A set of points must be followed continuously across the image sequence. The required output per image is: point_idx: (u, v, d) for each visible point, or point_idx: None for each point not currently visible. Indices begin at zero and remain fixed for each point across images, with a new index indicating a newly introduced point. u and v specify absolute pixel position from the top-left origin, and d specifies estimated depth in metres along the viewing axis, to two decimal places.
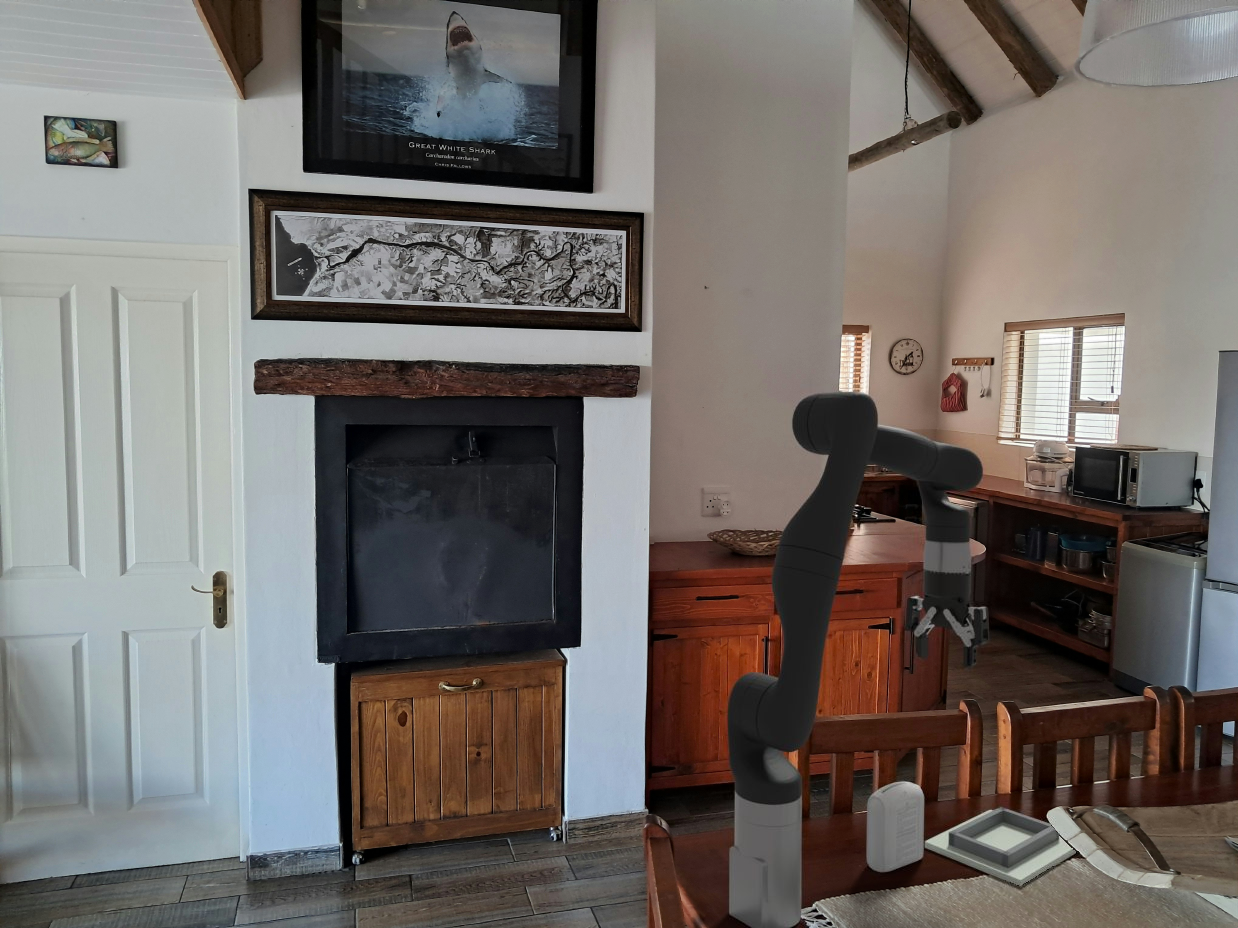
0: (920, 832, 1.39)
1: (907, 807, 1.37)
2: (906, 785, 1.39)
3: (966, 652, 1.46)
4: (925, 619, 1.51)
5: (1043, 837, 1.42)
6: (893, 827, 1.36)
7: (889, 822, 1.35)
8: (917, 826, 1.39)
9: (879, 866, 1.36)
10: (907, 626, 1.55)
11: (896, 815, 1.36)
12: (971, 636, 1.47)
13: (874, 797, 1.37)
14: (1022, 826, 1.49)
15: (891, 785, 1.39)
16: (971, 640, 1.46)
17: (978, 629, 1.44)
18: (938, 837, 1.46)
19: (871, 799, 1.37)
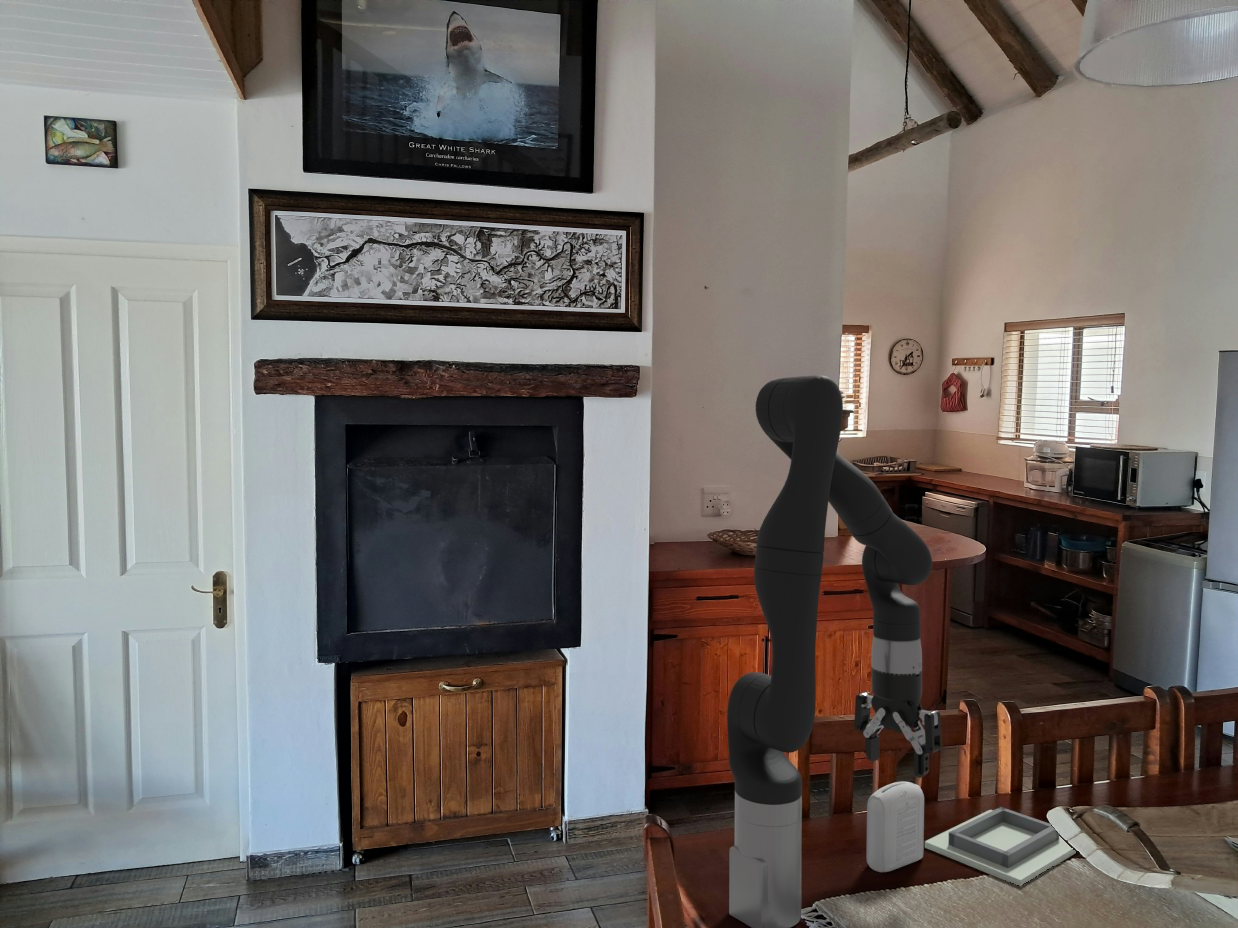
0: (920, 832, 1.39)
1: (907, 807, 1.37)
2: (906, 785, 1.39)
3: (917, 760, 1.35)
4: (874, 720, 1.40)
5: (1043, 837, 1.42)
6: (893, 827, 1.36)
7: (889, 822, 1.35)
8: (917, 826, 1.39)
9: (879, 866, 1.36)
10: (856, 725, 1.43)
11: (896, 815, 1.36)
12: (923, 741, 1.36)
13: (874, 797, 1.37)
14: (1022, 826, 1.49)
15: (891, 785, 1.39)
16: (922, 747, 1.34)
17: (929, 736, 1.33)
18: (938, 837, 1.46)
19: (871, 799, 1.37)
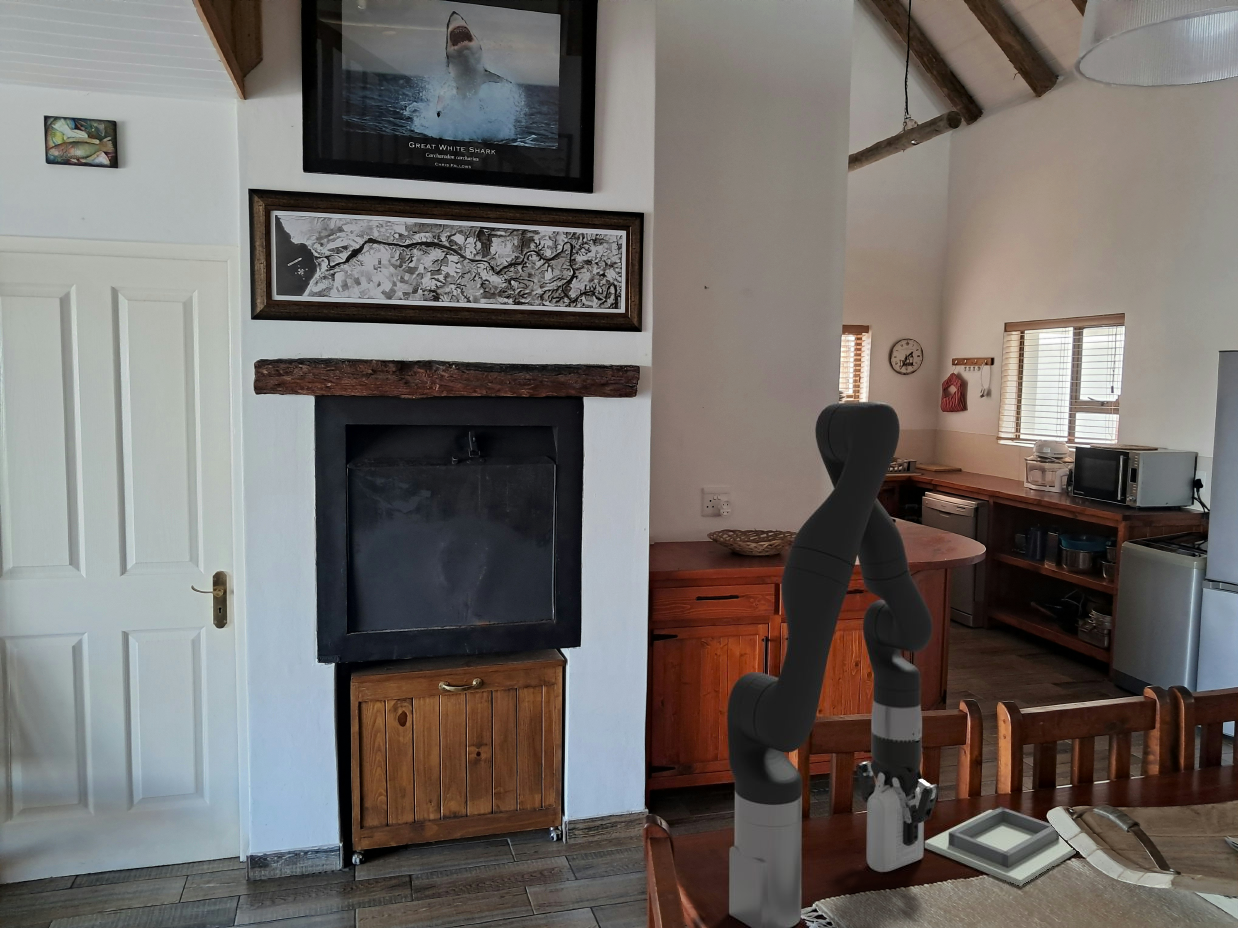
0: (920, 832, 1.39)
1: None
2: None
3: (906, 828, 1.36)
4: (877, 788, 1.39)
5: (1043, 837, 1.42)
6: (893, 827, 1.36)
7: (889, 822, 1.35)
8: None
9: (879, 865, 1.36)
10: (864, 797, 1.42)
11: (896, 815, 1.36)
12: (912, 809, 1.37)
13: (874, 797, 1.37)
14: (1022, 826, 1.49)
15: None
16: (911, 816, 1.36)
17: (921, 808, 1.34)
18: (938, 837, 1.46)
19: (871, 799, 1.37)
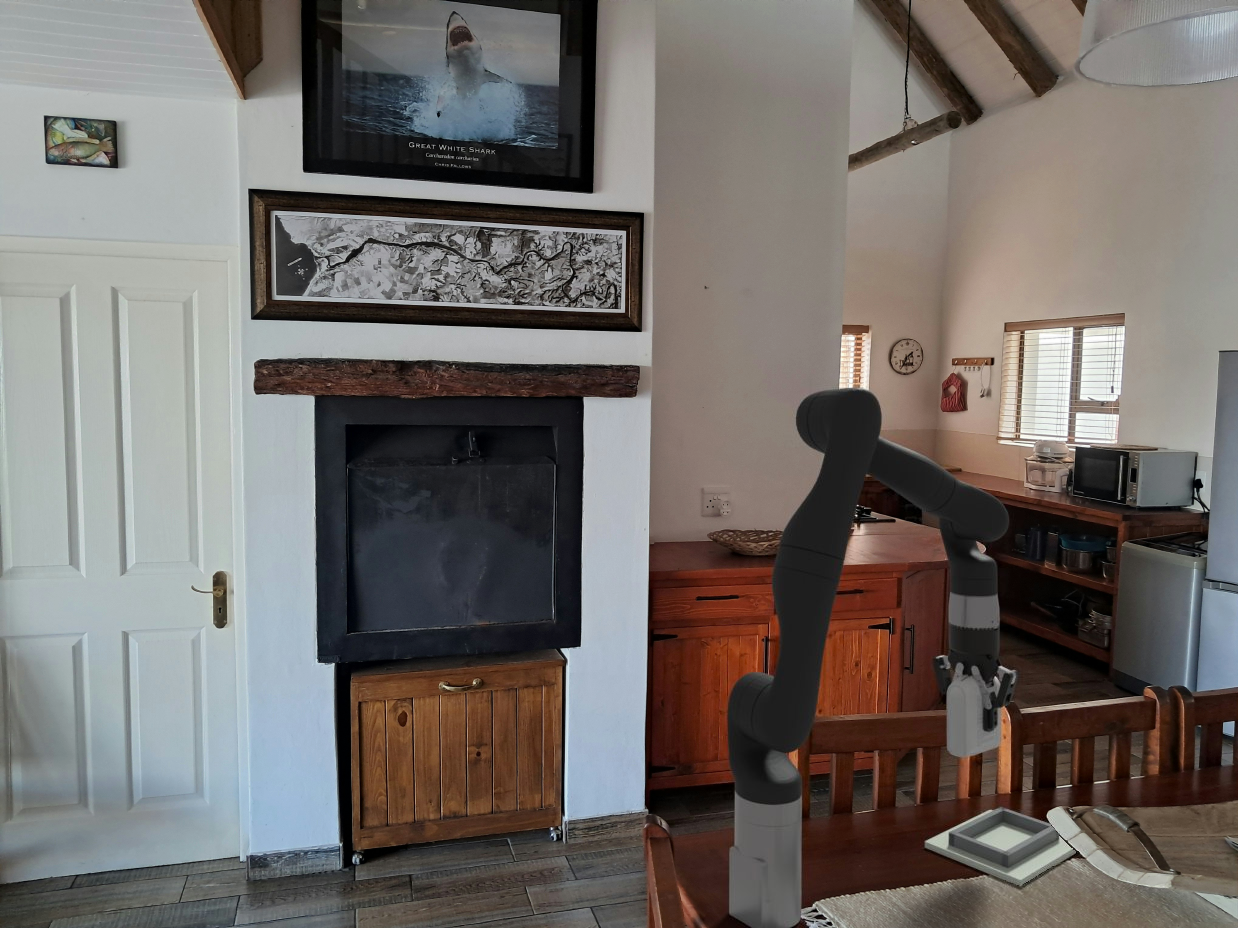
0: (998, 720, 1.43)
1: None
2: None
3: (986, 714, 1.39)
4: (956, 678, 1.43)
5: (1043, 837, 1.42)
6: (974, 713, 1.39)
7: (970, 708, 1.38)
8: None
9: (961, 751, 1.39)
10: (941, 689, 1.45)
11: (976, 701, 1.39)
12: (991, 697, 1.41)
13: (954, 685, 1.40)
14: (1022, 826, 1.49)
15: None
16: (991, 702, 1.39)
17: (1002, 693, 1.37)
18: (938, 837, 1.46)
19: (951, 687, 1.40)
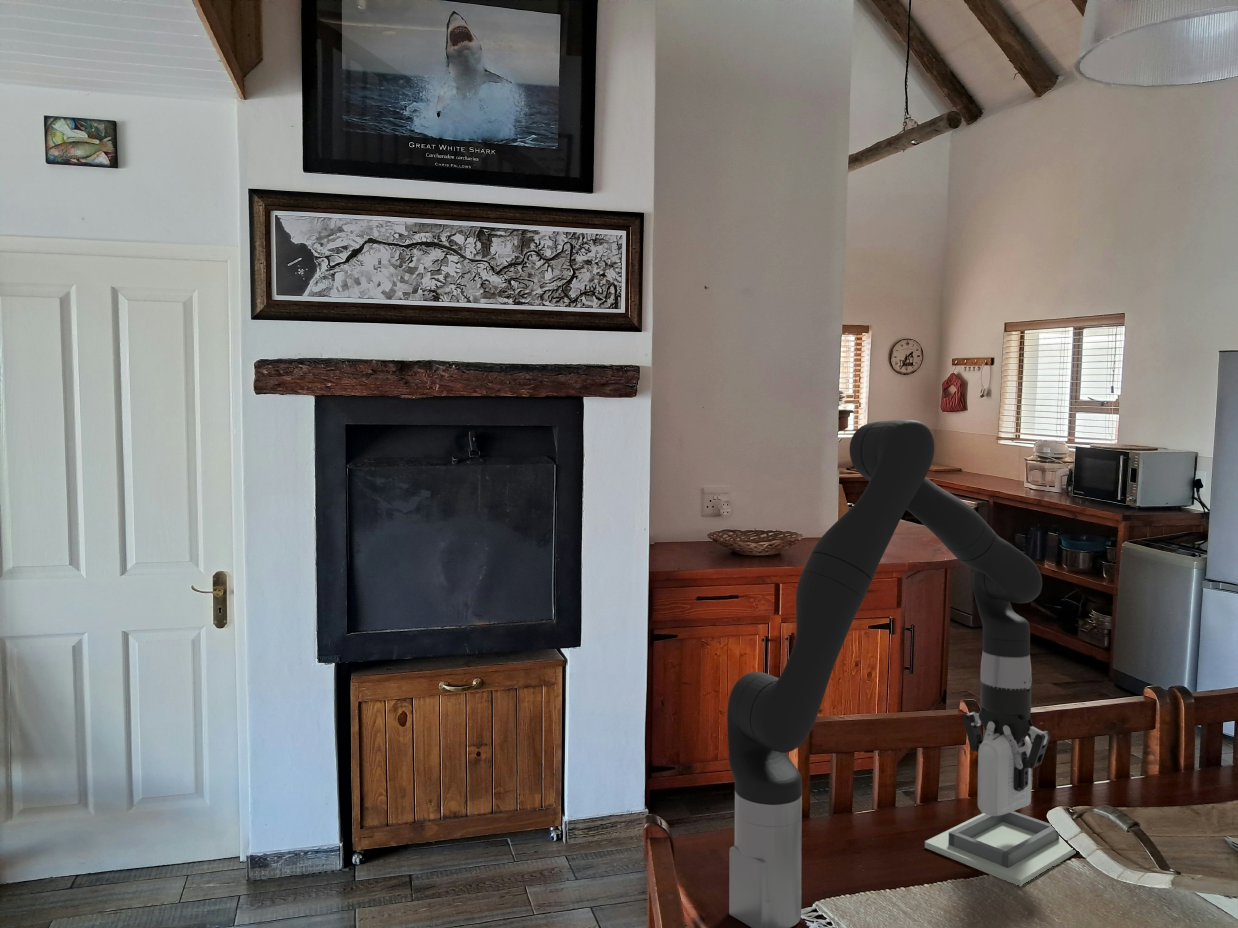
0: (1028, 778, 1.44)
1: None
2: None
3: (1017, 774, 1.41)
4: (987, 737, 1.44)
5: (1043, 837, 1.42)
6: (1005, 772, 1.40)
7: (1001, 767, 1.40)
8: None
9: (992, 810, 1.40)
10: (972, 746, 1.47)
11: (1008, 761, 1.41)
12: (1022, 756, 1.42)
13: (985, 744, 1.41)
14: (1022, 826, 1.49)
15: None
16: (1022, 762, 1.40)
17: (1034, 753, 1.38)
18: (938, 837, 1.46)
19: (982, 746, 1.42)
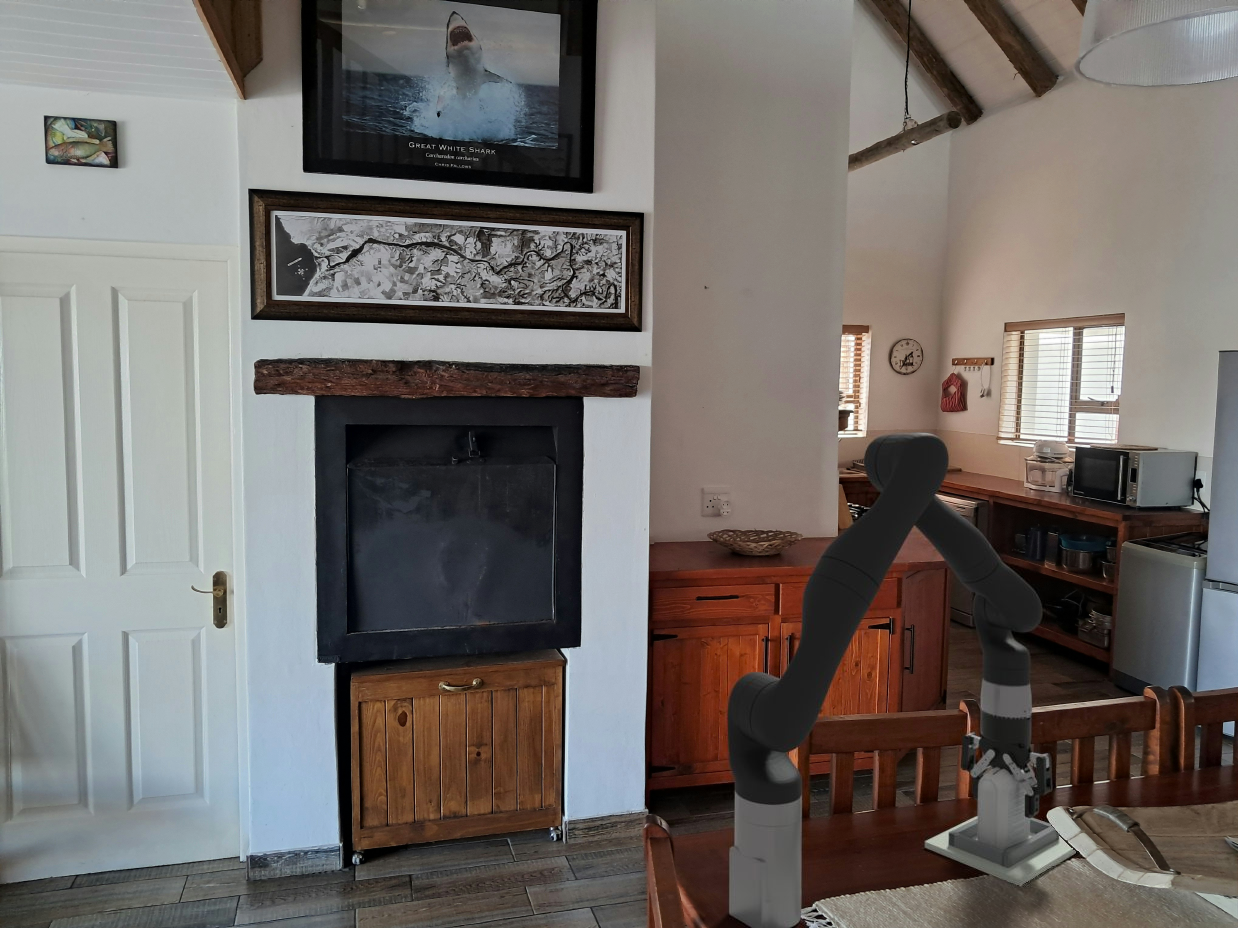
0: None
1: (1017, 788, 1.42)
2: None
3: (1027, 801, 1.40)
4: (983, 761, 1.45)
5: (1043, 837, 1.42)
6: (1005, 808, 1.40)
7: (1001, 803, 1.40)
8: None
9: (992, 845, 1.40)
10: (963, 765, 1.48)
11: (1008, 796, 1.41)
12: (1032, 782, 1.41)
13: (985, 779, 1.41)
14: None
15: None
16: (1033, 789, 1.39)
17: (1040, 778, 1.38)
18: (938, 837, 1.46)
19: (982, 781, 1.42)
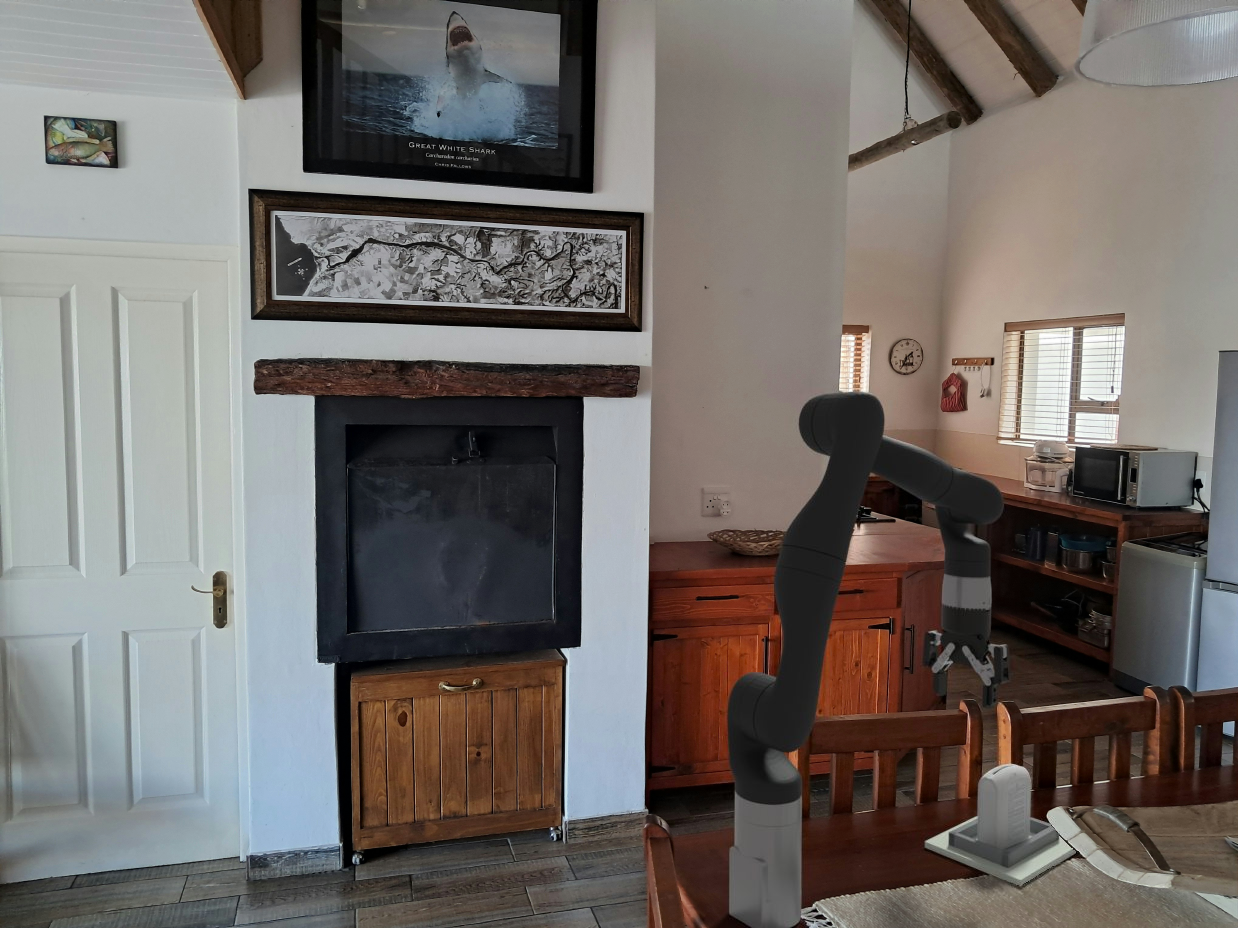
0: (1027, 813, 1.44)
1: (1017, 788, 1.42)
2: (1014, 767, 1.44)
3: (985, 691, 1.41)
4: (943, 655, 1.47)
5: (1043, 837, 1.42)
6: (1005, 808, 1.40)
7: (1001, 803, 1.40)
8: (1025, 807, 1.44)
9: (992, 845, 1.40)
10: (924, 662, 1.50)
11: (1008, 796, 1.41)
12: (991, 674, 1.42)
13: (985, 779, 1.41)
14: None
15: (1000, 767, 1.43)
16: (991, 679, 1.41)
17: (998, 668, 1.39)
18: (938, 837, 1.46)
19: (982, 781, 1.42)
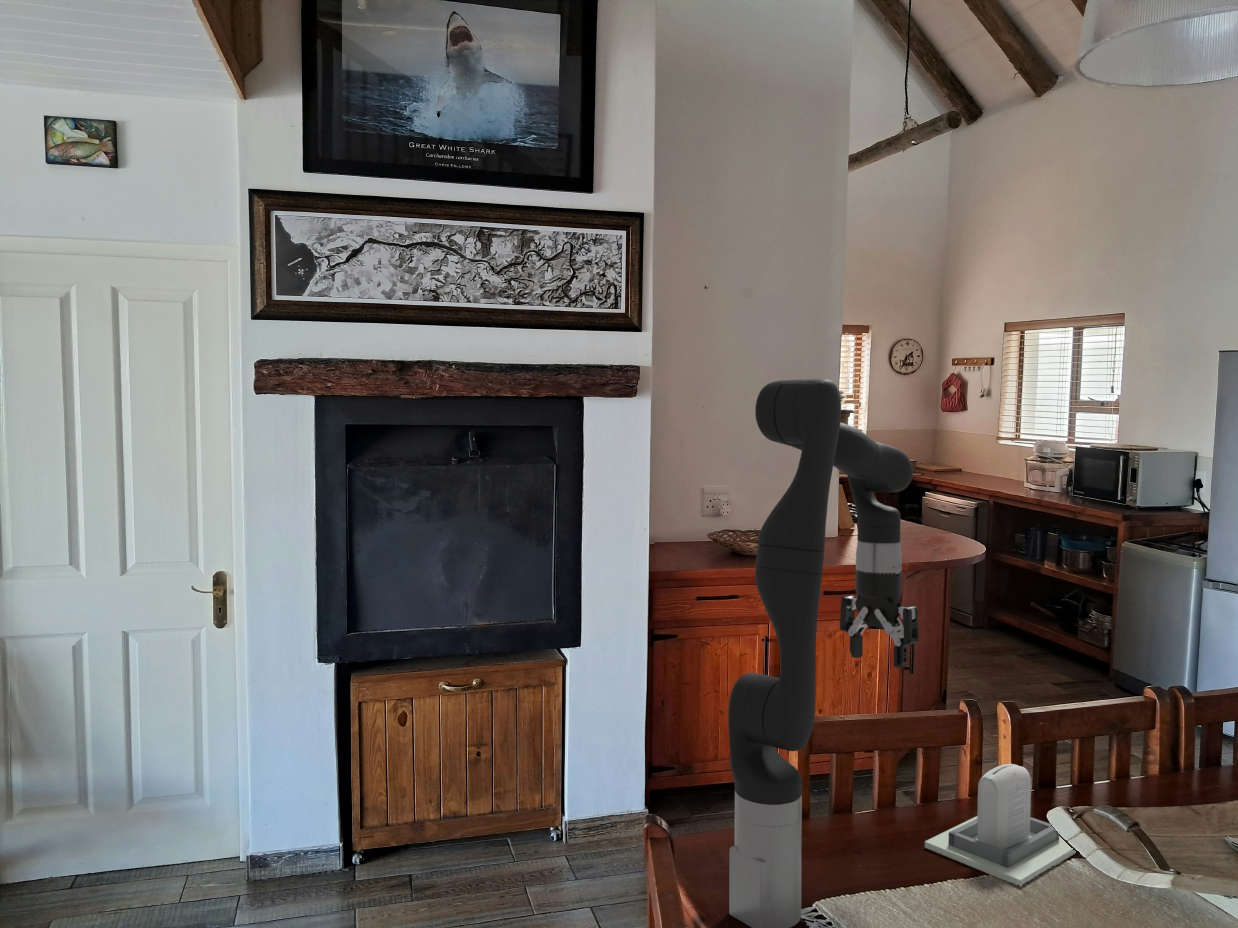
0: (1027, 813, 1.44)
1: (1017, 788, 1.42)
2: (1014, 767, 1.44)
3: (896, 651, 1.48)
4: (858, 619, 1.53)
5: (1043, 837, 1.42)
6: (1005, 808, 1.40)
7: (1001, 803, 1.40)
8: (1025, 807, 1.44)
9: (992, 845, 1.40)
10: (841, 626, 1.56)
11: (1008, 796, 1.41)
12: (901, 635, 1.49)
13: (985, 779, 1.41)
14: None
15: (1000, 767, 1.43)
16: (901, 640, 1.47)
17: (906, 629, 1.46)
18: (938, 837, 1.46)
19: (982, 781, 1.42)
